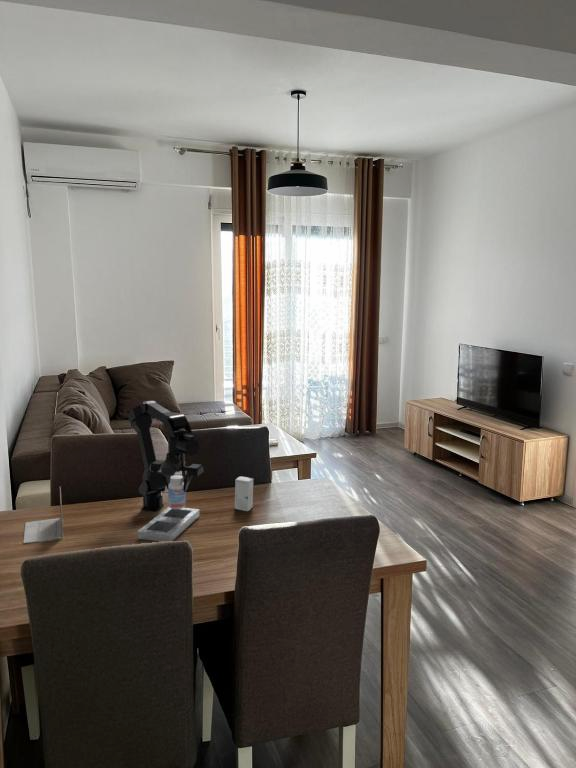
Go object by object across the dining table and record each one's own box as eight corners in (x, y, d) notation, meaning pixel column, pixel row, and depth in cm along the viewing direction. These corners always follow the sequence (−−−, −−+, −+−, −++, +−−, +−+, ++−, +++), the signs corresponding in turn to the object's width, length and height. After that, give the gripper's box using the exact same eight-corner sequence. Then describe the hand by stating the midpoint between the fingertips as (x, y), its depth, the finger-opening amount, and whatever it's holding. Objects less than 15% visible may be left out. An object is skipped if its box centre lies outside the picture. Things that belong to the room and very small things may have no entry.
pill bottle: (171, 510, 208) (170, 481, 206) (166, 505, 214) (166, 475, 212) (187, 508, 211) (187, 478, 209) (182, 502, 216) (182, 473, 214)
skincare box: (234, 509, 226) (234, 479, 223) (239, 505, 230) (239, 475, 228) (248, 511, 223) (248, 481, 221) (253, 507, 227) (253, 478, 225)
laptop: (25, 524, 209) (23, 489, 207) (62, 519, 214) (60, 485, 212) (23, 545, 193) (20, 507, 191) (63, 539, 198) (61, 503, 195)
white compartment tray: (137, 539, 198) (137, 531, 197) (170, 513, 221) (169, 505, 220) (170, 544, 195) (169, 535, 194) (199, 517, 217) (199, 509, 217)
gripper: (141, 452, 203) (142, 495, 206) (190, 458, 199) (191, 501, 201) (156, 444, 214) (157, 485, 217) (203, 449, 209) (204, 490, 212)
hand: (176, 490), depth 211 cm, fingers closed on pill bottle, 6 cm apart
